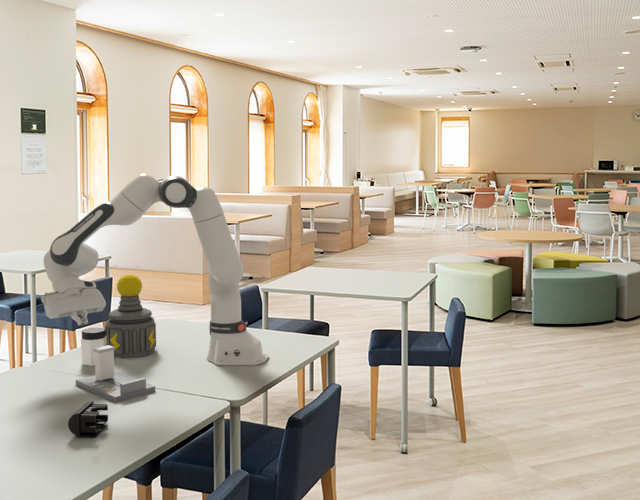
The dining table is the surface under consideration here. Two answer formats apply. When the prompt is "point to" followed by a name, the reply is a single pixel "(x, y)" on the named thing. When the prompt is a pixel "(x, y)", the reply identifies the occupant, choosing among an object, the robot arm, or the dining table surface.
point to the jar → (92, 344)
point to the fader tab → (104, 362)
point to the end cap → (88, 420)
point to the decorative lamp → (131, 322)
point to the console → (116, 386)
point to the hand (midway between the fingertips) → (83, 323)
